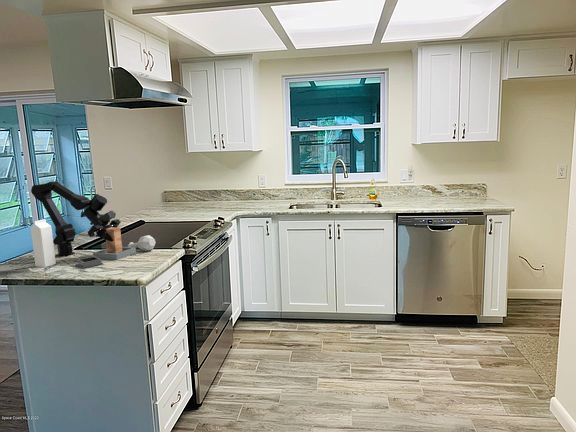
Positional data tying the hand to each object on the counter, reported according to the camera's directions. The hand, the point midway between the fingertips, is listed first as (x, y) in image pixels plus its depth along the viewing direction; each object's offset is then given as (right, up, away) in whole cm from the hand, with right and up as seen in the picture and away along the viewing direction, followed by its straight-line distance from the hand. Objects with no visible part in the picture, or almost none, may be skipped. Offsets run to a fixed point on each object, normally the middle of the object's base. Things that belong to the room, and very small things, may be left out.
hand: (116, 239), depth 213 cm
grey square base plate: (-7, -11, -14) cm, 19 cm away
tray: (-1, -9, +2) cm, 9 cm away
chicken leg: (+7, -6, +16) cm, 19 cm away
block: (-1, -6, +1) cm, 6 cm away
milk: (-28, -12, -12) cm, 33 cm away
